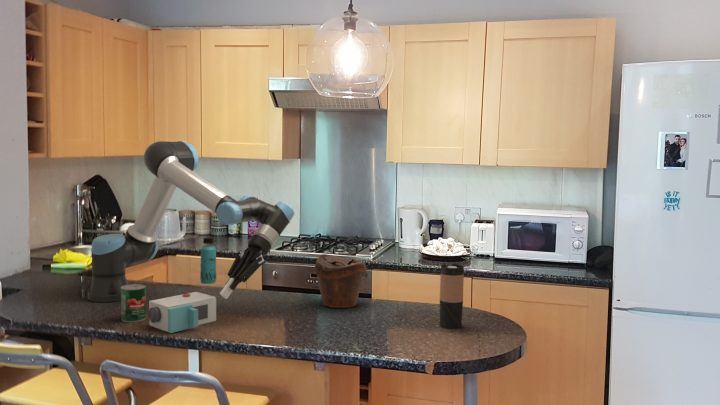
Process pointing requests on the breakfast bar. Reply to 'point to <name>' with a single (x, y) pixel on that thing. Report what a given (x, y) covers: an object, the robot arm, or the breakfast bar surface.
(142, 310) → the canned tomato
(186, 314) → the door
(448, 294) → the travel mug
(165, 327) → the block
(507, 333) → the breakfast bar surface
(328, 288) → the brown tapered cylinder
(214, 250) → the beverage bottle
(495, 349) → the breakfast bar surface
